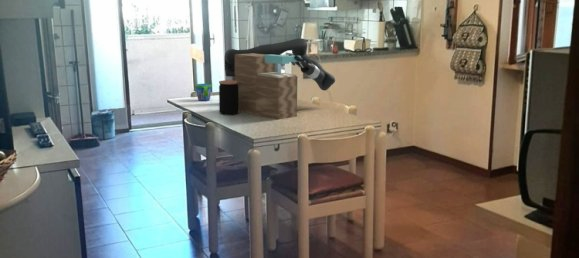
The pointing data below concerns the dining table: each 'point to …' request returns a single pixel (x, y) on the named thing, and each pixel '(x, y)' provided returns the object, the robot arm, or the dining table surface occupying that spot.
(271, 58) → the t bar
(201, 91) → the snack cup
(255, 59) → the step shelf
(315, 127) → the dining table surface
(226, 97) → the coffee jar
